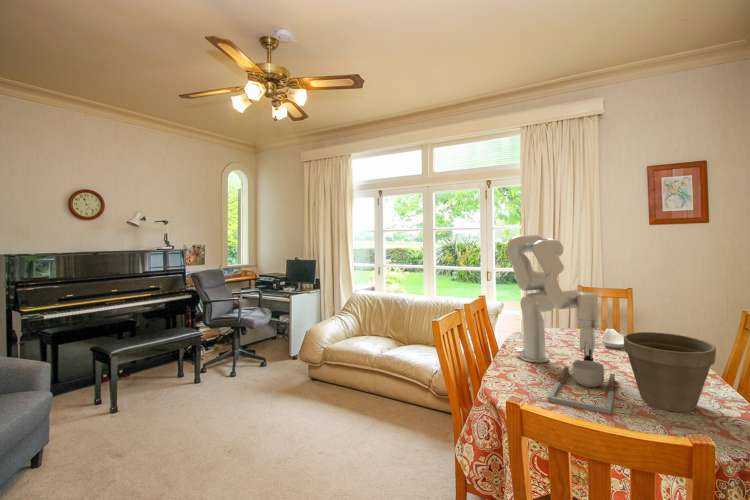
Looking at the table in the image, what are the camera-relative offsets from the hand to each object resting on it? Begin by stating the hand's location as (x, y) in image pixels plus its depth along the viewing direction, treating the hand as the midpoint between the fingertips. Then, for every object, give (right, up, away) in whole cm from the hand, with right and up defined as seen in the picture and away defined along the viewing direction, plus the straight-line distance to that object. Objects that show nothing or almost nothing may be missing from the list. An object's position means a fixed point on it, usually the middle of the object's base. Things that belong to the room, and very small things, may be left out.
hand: (588, 367), depth 152 cm
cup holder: (-3, -4, -4) cm, 7 cm away
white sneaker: (+40, -3, +48) cm, 62 cm away
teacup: (-4, -5, -5) cm, 8 cm away
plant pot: (+13, -5, -25) cm, 29 cm away
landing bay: (-14, -5, -19) cm, 24 cm away
